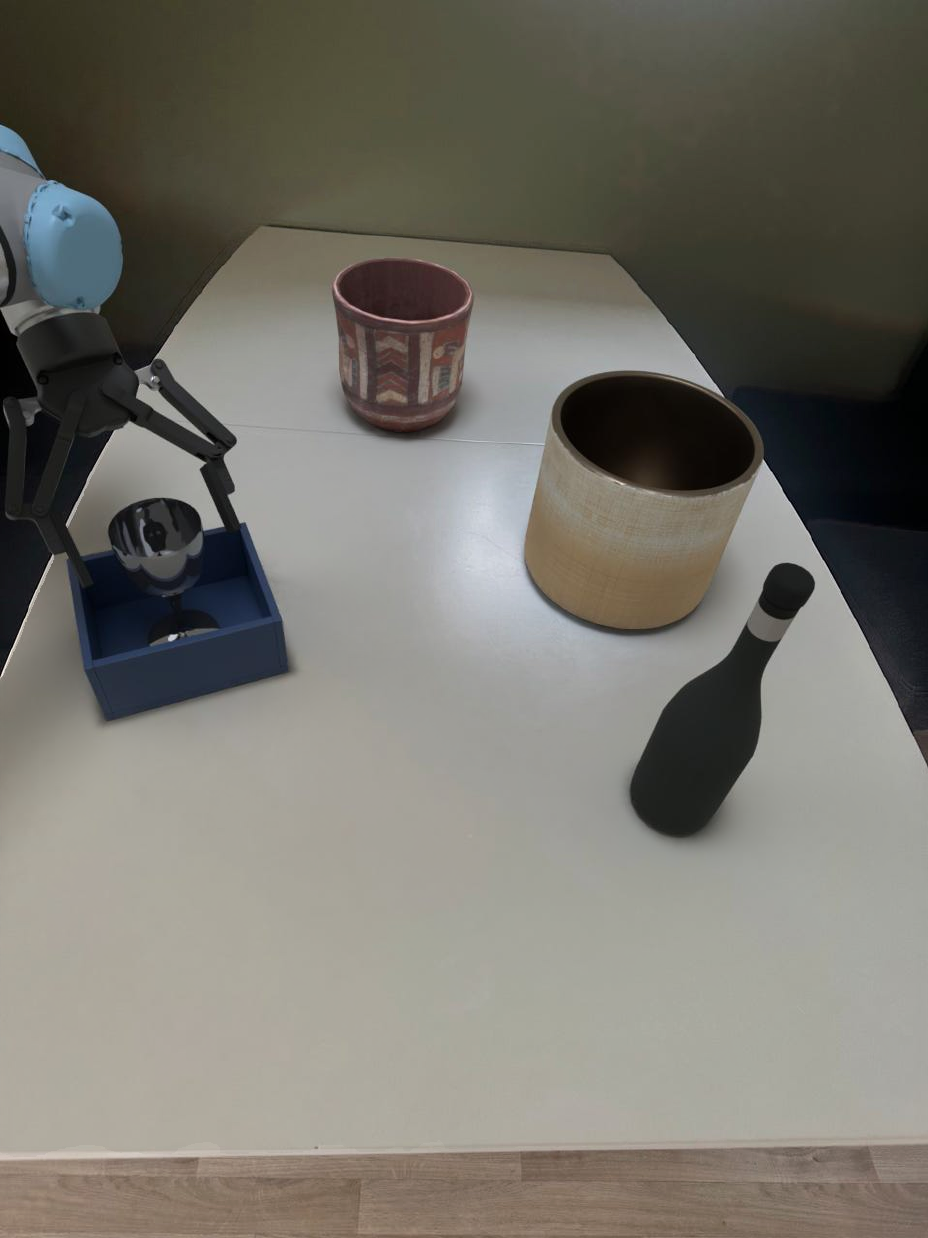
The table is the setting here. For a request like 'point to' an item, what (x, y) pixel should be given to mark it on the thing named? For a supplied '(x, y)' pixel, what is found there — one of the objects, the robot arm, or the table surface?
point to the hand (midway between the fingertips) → (164, 557)
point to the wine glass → (163, 560)
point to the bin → (183, 667)
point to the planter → (638, 496)
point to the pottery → (401, 340)
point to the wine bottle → (716, 717)
